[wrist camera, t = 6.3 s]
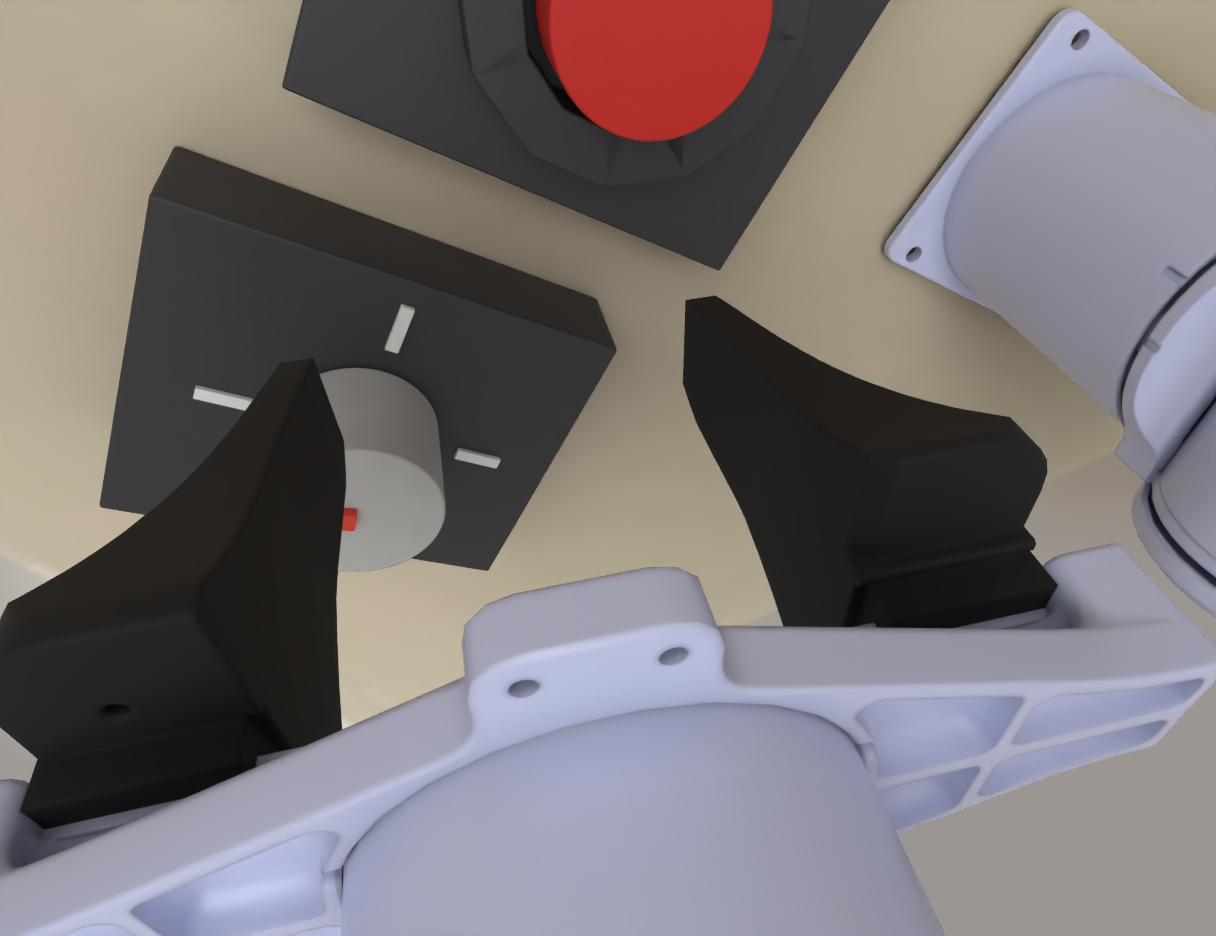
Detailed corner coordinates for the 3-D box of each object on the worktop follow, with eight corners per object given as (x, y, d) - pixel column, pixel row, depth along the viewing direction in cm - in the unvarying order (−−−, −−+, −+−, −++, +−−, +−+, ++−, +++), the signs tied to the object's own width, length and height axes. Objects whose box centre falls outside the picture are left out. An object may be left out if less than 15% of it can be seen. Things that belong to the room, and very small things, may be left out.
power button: (783, -56, 16) (819, -40, 14) (674, 146, 18) (697, 175, 17) (596, -188, 14) (619, -183, 12) (500, 59, 16) (511, 85, 15)
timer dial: (450, 377, 22) (461, 467, 19) (424, 491, 24) (431, 584, 22) (281, 355, 20) (266, 450, 17) (273, 479, 23) (259, 578, 20)
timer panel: (597, 298, 24) (620, 353, 22) (480, 513, 30) (489, 575, 27) (174, 144, 19) (147, 196, 17) (123, 441, 24) (97, 512, 22)
